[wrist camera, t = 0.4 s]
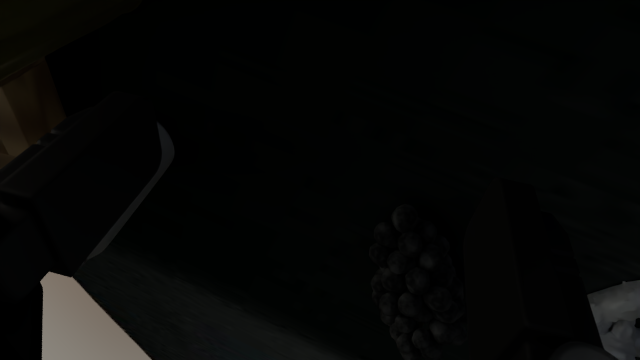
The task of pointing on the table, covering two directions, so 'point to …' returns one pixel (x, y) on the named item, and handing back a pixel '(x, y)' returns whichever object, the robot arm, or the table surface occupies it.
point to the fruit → (417, 286)
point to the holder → (27, 109)
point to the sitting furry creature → (618, 318)
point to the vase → (49, 26)
